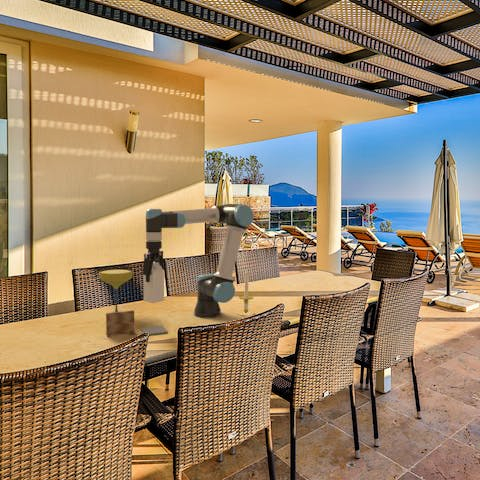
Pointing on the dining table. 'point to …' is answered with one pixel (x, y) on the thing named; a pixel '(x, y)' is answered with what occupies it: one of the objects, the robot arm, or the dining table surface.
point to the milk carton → (155, 285)
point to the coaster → (154, 330)
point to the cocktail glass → (115, 277)
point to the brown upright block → (120, 323)
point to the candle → (246, 293)
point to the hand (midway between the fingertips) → (153, 286)
